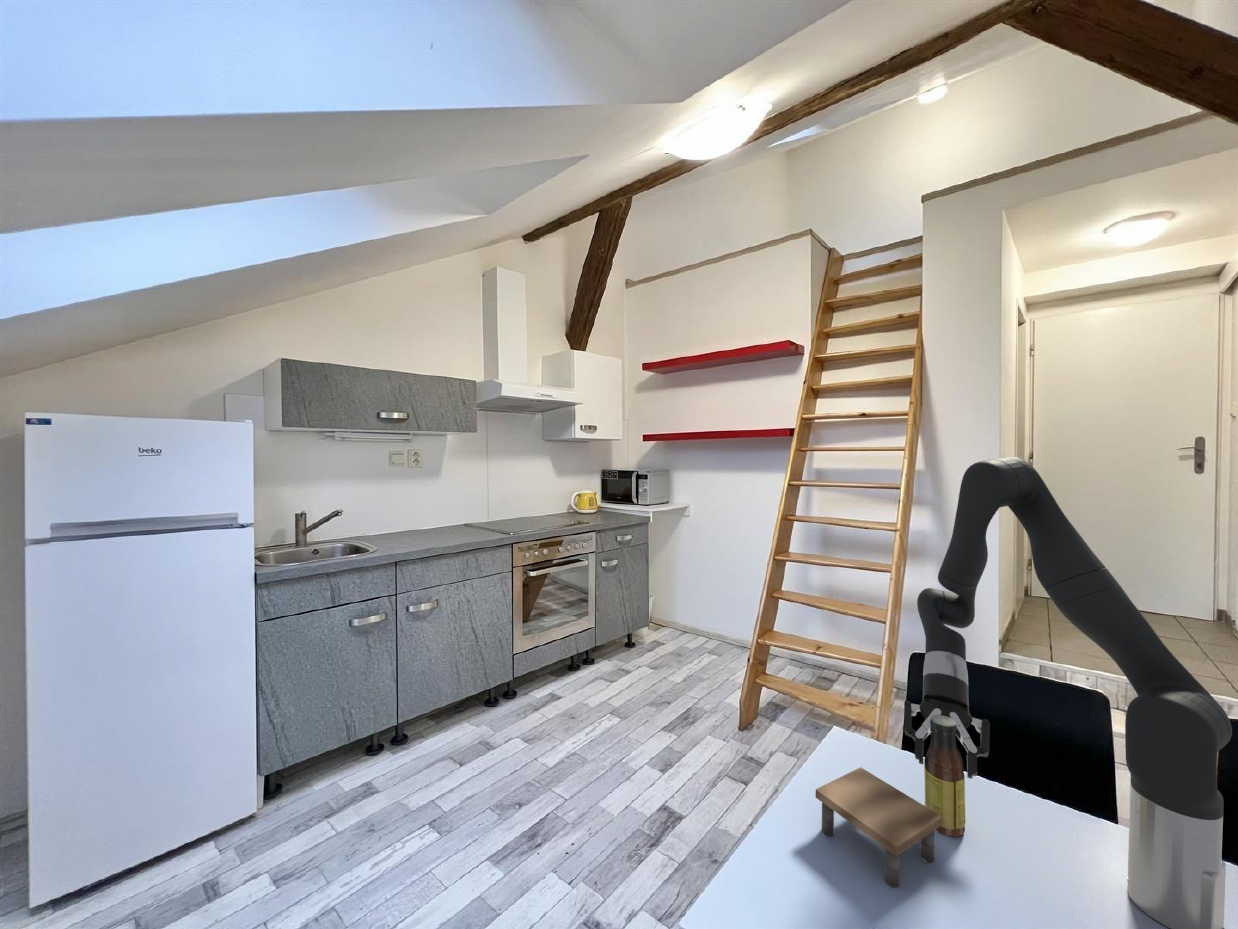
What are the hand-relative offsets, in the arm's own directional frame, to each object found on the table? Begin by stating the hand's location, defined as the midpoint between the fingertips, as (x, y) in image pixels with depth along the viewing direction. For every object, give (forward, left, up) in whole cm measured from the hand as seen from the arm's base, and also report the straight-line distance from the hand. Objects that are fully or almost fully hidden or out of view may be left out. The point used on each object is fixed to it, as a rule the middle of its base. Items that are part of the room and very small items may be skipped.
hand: (945, 769), depth 90 cm
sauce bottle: (+1, -1, -12) cm, 12 cm away
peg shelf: (+4, +14, -11) cm, 18 cm away
